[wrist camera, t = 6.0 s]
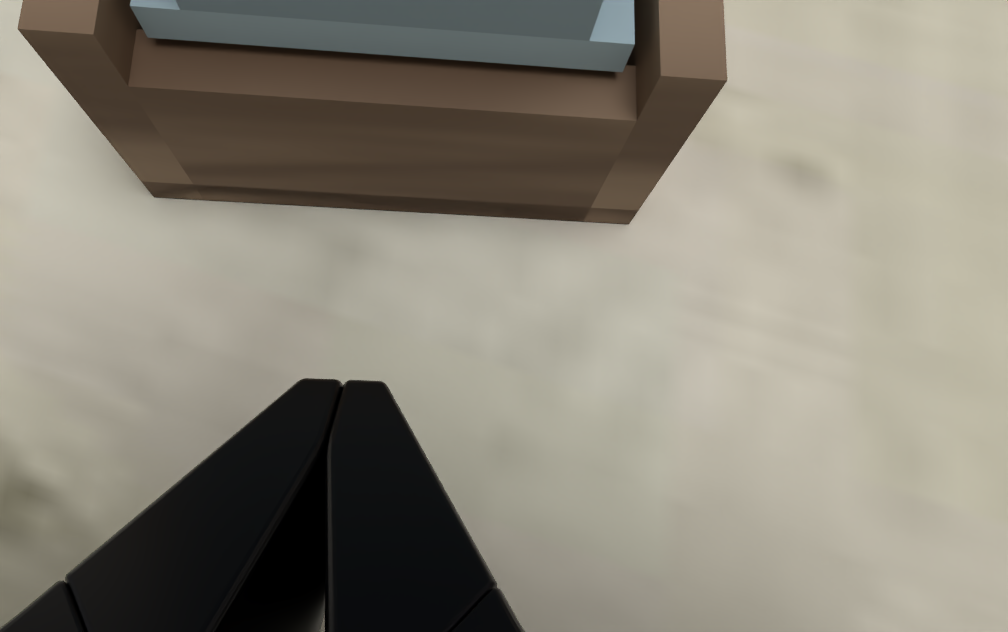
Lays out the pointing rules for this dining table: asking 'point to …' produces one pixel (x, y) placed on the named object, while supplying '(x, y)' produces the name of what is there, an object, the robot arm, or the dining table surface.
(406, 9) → the lid
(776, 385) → the dining table surface
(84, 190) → the dining table surface
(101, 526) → the dining table surface
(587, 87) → the pencil box
